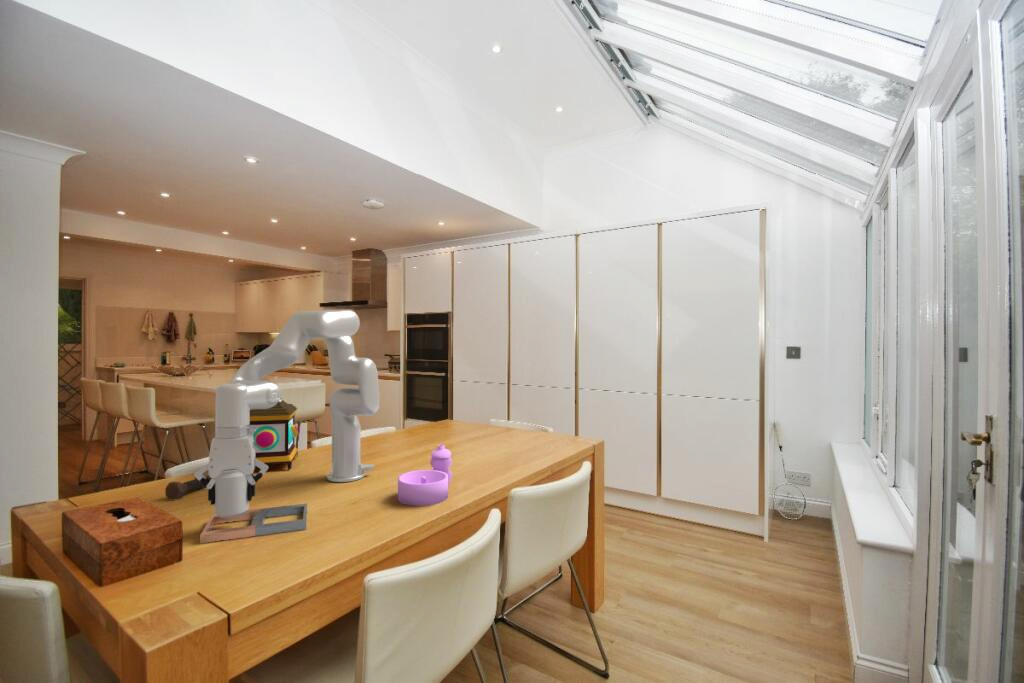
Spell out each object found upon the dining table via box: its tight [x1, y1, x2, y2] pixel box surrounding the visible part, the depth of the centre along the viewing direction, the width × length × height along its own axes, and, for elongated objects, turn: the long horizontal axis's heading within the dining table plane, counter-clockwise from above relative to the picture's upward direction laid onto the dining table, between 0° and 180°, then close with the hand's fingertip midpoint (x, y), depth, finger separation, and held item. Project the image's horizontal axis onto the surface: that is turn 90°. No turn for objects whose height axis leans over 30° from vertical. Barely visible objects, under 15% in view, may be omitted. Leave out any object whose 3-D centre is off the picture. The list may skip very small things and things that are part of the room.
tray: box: [199, 503, 308, 544], centre depth 122 cm, size 23×14×2 cm, turn 113°
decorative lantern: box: [249, 397, 299, 471], centre depth 177 cm, size 20×20×30 cm
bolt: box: [164, 474, 212, 500], centre depth 147 cm, size 6×5×15 cm
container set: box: [397, 444, 453, 507], centre depth 149 cm, size 25×15×13 cm, turn 165°
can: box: [214, 469, 250, 518], centre depth 119 cm, size 8×8×12 cm
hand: (232, 500), depth 119 cm, fingers closed on can, 7 cm apart
